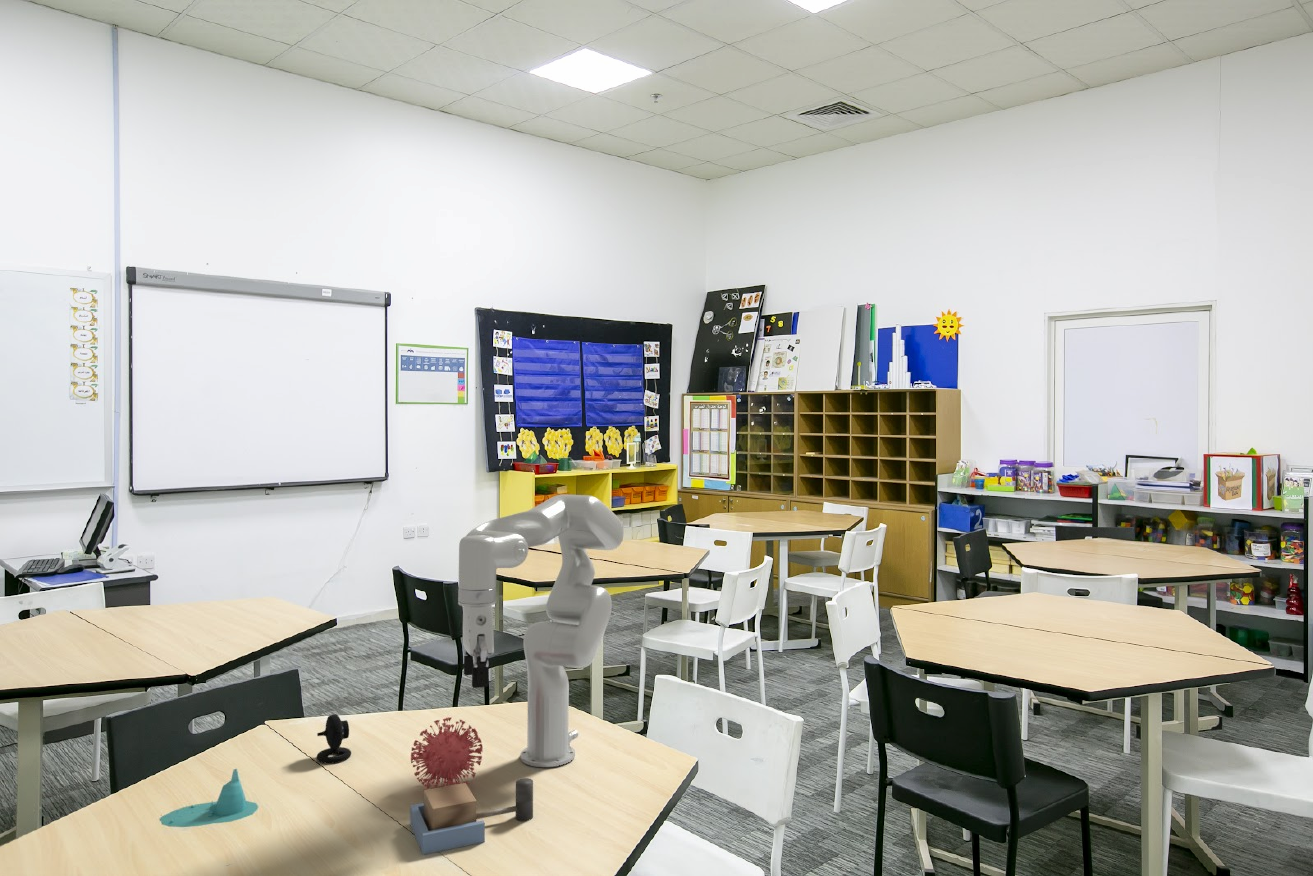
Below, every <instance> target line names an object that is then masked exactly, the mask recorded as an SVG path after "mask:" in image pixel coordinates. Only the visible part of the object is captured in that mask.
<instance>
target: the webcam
mask: <svg viewBox="0 0 1313 876" xmlns="http://www.w3.org/2000/svg"><path fill="white" fill-rule="evenodd" d="M349 735H350V725H349V722H348V720H347V719H346V720H342V719H341V718H340V716H339V715H338V714H331V715H329V716H328V717H327V719H326V722H325V730H323V731H321V732H317V737H323V736H324V737H325V739H326V743H327V745H328V748H325V749H323V750H321V751H319V752H318V753H317V755H316V760H317V761H318V762H320V763H322V764H337V763H341V762H344V761H346V760H348V759H349V758H350V757H351V755H352V751H351V750H350V748H348V747H344V746H343V747H342V746H341V745H342V741H343V740H345V739H348V738H349ZM334 754H340V755H335V756H331V755H334Z"/></svg>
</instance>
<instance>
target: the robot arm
mask: <svg viewBox="0 0 1313 876" xmlns="http://www.w3.org/2000/svg"><path fill="white" fill-rule="evenodd" d="M556 537H557V538H558V542H559V547H560V550H561V551H560V552H561V553H560V554H561V559H562V560H561V562H562V563H561V567H560V570H559V573H558V575H557V577H556V578H555V582H554V584H553V586H552V589H551V590H550V593H549V595H548V598H547V601H546V605H545V612H546V615H547V617H548V618H549V619H550V620H552V621H546V620H545V621H538V622H537V621H536V622H535V623H533V624H531V625H530V626H529V627H528V628H526V630H525V632H524V636H523V641H522V642H523V651H524V656H525V662H526V670H527V671H526V672H527V673H526V674H527V731H526V733H527V737H526V738H527V739H526V741H527V744H526V745H527V747H525V748H524V749H523V750H521V753H520V760H521V762H522V763H524V764H525V765H528V766H531V767H537V768H555V767H559V765H560V766H563V764H564V765H566V763H567V764H568V762H569V763H571V762H572V761H573V760H574V759H575V757H574V756H576V751H575V749H574V748H573V746H571V743H572V741H574V740H575V739H577V738H578V737H579V732H578V730H576V729H574V730H573V729H572V730H571V731H569V710H570V709H569V708H570V707H569V706H570V705H569V703H570V701H569V699H570V697H569V689H570V684H569V683H570V682H569V678H568V675H567V672H566V670H565V668H564V667H568V668H573V669H574V668H575V669H584V668H587V667H589V666H590V665H591V664H592V663H593V661H594V659H595V658H596V655H597V654H598V650H599V648H600V646H601V643H602V640H603V637H604V635H605V632H606V629H607V626H608V625H609V621H610V619H611V615H612V608H613V606H612V605H613V604H612V603H613V602H612V597H611V594H610V592H609V591H608V589H606V588H604V587H602V586H598V585H593V581H594V578H595V575H596V574H595V573H596V572H595V567H594V563H593V562H592V560H591V558H590V557H589V555H588V552H587V550H596V551H598V550H599V551H614V550H615V549H617V548H619V546H620V545H621V544H622V542H623V539H624V527H623V524H622V521H621V520H620V518H619V517H618V516H617V515H616V513H614V512H613V511H612V509H610V508H609V507H608V506H607V505H606V504H605V503H604V502H603V501H601V499H599V498H597V497H595V496H593V495H587V494H586V495H585V494H584V495H583V494H567V493H566V494H563V493H562V494H558V495H554V496H552V497H550V498H549V499H547V500H544V501H543V502H541V503H540V504H538V505H536V506H533V507H532V508H530V509H528V510H526V511H521V512H517V513H513V514H510V515H507V516H503V517H502V516H501V517H498V518H494V519H490V520H489V521H486V522H484V523H482V524H480V525H478V526H476V527H475V528H472V529H471V530H470V531H469V532H468V533H467V534H466V535H465V536H463V537H462V538H461V539H460V540H459V544H458V589H457V590H458V592H457V593H458V594H457V596H458V597H457V599H458V600H457V601H458V602H457V604H458V606H460V607H463V610H462V644H463V649H464V656H463V674H464V676H471V687H472V688H473V689H477V688H487V687H489V683H490V682H489V681H490V680H489V679H490V670H489V669H490V667H489V657H488V656H489V655H490V656H491V655H493V654H494V653H495V642H494V641H495V640H494V638H495V637H494V635H495V634H494V615H493V614H494V613H493V605H495V604H497V569H514V568H517V567H519V566H520V565H522V564H523V563H524V562H525V561H526V559H527V557H528V555H529V553H528V552H529V548H533V547H540V546H543V545H546V544H548V543H549V542H551V541H552V540H553V539H555V538H556ZM488 654H489V655H488ZM573 758H574V759H573ZM571 760H572V761H571Z"/></svg>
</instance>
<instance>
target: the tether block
mask: <svg viewBox="0 0 1313 876" xmlns="http://www.w3.org/2000/svg"><path fill="white" fill-rule="evenodd" d="M423 803H424V822H425V824H426V826H427V829H428V831H431V830H437V829H442V828H447V827H452V826H457V825H462V824H467V823H472V822H477V820H480V819H484V818H489V817H494V816H498V815H505V814H509V813H514V812H515V819H516V820H517V821H519V822H527V820H528V821H530V820H532V819H533V818H534V780H533V779H532V778H527V777H523V778H522V777H521V778H519V779H517V780H516V781H515V805H514V806H509V807H504V808H498V809H492V810H488V811H482V812H479V813H478V812H477V799H476V798H475V796H474V795H473V793H472V791H471V789H470V787H468V784H466V783H463V782H462V783H461V782H460V784H456V785H450V786H449V785H448V786H447V785H446V786H444V787H443V786H442V787H441V786H440V787H436V788H426V789H424V790H423ZM529 819H530V820H529Z"/></svg>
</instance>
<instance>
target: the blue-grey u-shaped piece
mask: <svg viewBox="0 0 1313 876" xmlns="http://www.w3.org/2000/svg"><path fill="white" fill-rule="evenodd" d="M409 809H410V810H409V811H410V812H409V813H410V814H409V815H410V816H409V817H410V819H409V821H410V822H409V823H410V827H411V829H412V832H413V834H414V836H415V839H416V842H417V844H418V846H419V849H420V851H421V854H422V855H423V856H424V855H428V854H433V853H438V852H443V851H449V850H453V849H457V848H461V847H467V846H473V845H476V844H482V843H485V842H486V841H485V839H486V838H485V837H486V836H485V835H486V833H485V832H486V831H485V829H486V828H485V827H486V823H485V821H484V820H478V821H477V820H476V822H472V823H467V824H462V825H457V826H452V827H447V828H442V829H437V830H431V831H428V829H427V826H426V824H425V822H424V802H422V803H421V802H420V803H418V804H417V803H416V804H411V805H410V807H409Z"/></svg>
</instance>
